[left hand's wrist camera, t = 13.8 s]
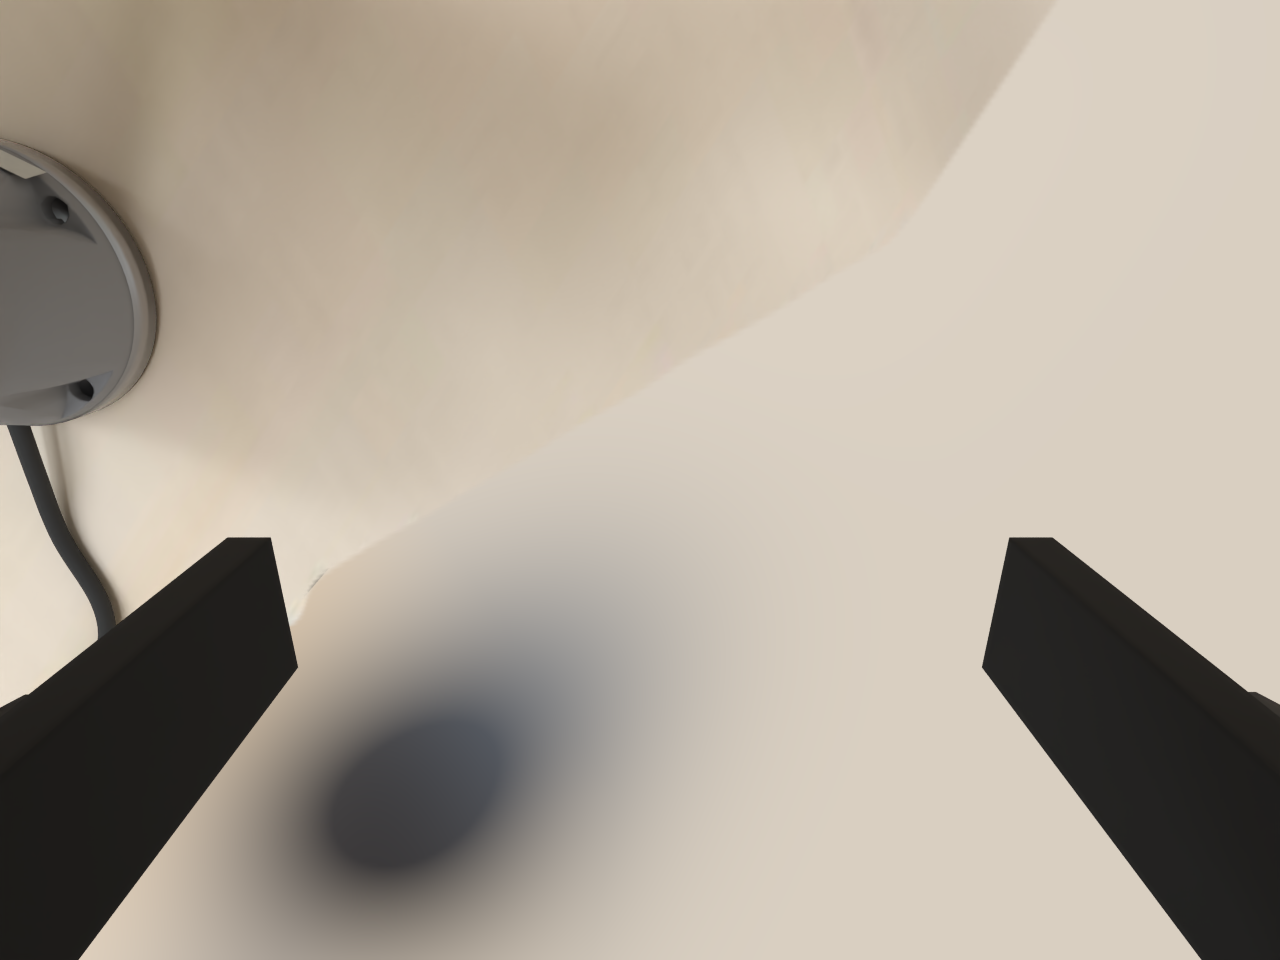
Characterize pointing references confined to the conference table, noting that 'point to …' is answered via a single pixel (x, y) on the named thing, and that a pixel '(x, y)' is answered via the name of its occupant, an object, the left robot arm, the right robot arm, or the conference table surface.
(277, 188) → the conference table surface
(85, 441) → the conference table surface
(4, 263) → the left robot arm
